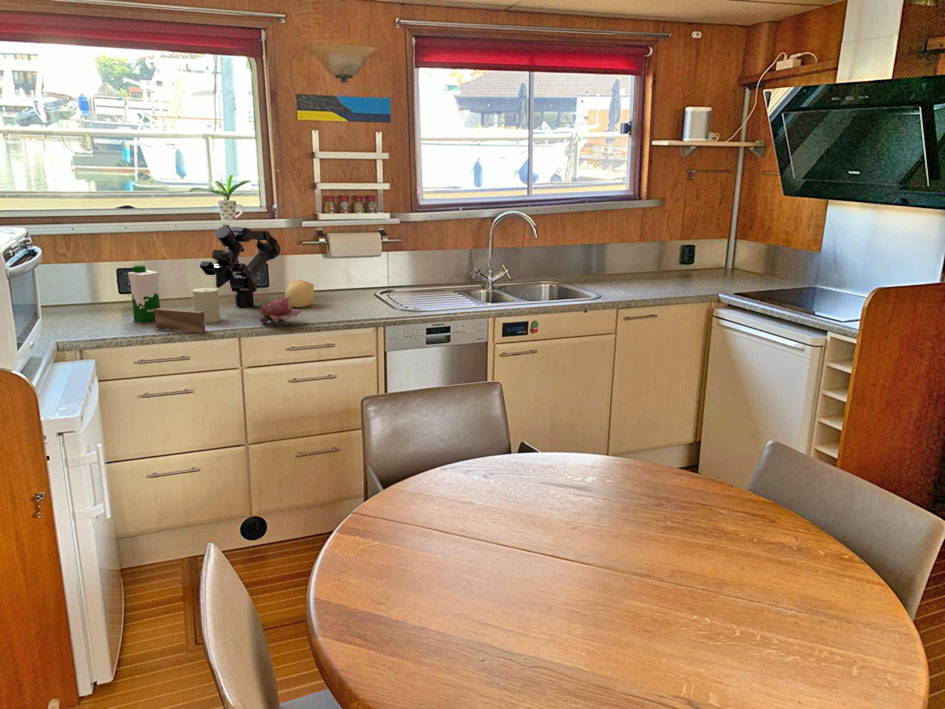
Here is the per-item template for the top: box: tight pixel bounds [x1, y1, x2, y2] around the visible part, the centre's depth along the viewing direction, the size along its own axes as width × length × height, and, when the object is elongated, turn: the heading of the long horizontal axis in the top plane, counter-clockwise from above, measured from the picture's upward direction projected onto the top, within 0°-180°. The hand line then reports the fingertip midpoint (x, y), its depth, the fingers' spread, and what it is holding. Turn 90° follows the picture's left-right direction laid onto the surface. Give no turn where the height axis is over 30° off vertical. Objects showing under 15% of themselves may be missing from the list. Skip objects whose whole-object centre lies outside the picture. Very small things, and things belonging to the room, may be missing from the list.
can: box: [192, 287, 221, 323], centre depth 285 cm, size 9×9×12 cm
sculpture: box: [284, 279, 315, 308], centre depth 312 cm, size 12×12×11 cm
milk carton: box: [127, 264, 161, 324], centre depth 282 cm, size 9×9×20 cm
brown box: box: [154, 307, 206, 333], centre depth 270 cm, size 3×18×7 cm, turn 76°
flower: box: [259, 296, 302, 327], centre depth 280 cm, size 15×15×10 cm
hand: (217, 287), depth 291 cm, fingers closed
